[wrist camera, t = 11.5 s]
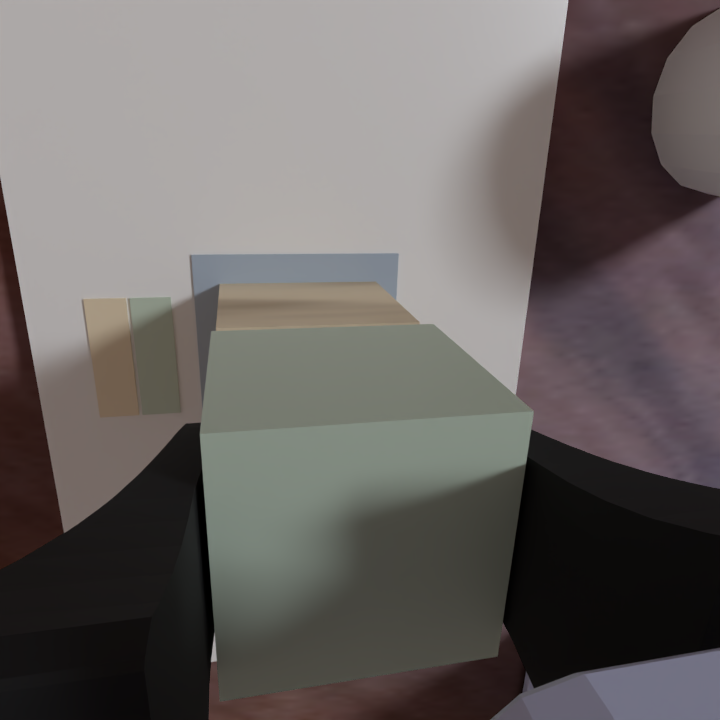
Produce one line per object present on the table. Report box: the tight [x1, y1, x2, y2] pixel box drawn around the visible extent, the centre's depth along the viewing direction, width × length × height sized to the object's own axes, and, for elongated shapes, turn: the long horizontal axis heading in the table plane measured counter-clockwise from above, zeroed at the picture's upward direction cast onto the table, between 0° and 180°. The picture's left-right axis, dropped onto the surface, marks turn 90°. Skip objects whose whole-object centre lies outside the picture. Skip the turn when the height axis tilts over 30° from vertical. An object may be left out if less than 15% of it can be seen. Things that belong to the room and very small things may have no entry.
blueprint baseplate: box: [0, 0, 568, 662], centre depth 18 cm, size 24×15×1 cm, turn 178°
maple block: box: [216, 282, 420, 331], centre depth 16 cm, size 5×5×4 cm
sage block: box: [200, 324, 534, 701], centre depth 10 cm, size 5×5×4 cm
